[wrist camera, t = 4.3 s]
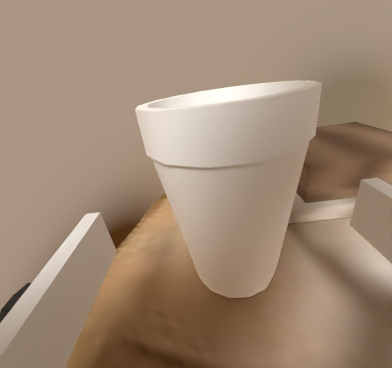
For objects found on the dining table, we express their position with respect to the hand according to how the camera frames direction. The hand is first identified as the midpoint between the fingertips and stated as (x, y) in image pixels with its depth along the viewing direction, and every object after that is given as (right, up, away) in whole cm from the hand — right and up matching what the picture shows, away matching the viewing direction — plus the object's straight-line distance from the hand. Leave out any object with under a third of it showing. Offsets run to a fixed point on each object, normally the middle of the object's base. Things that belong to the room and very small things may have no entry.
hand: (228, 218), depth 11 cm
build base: (+15, +2, +15) cm, 22 cm away
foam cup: (+2, -5, +6) cm, 8 cm away
